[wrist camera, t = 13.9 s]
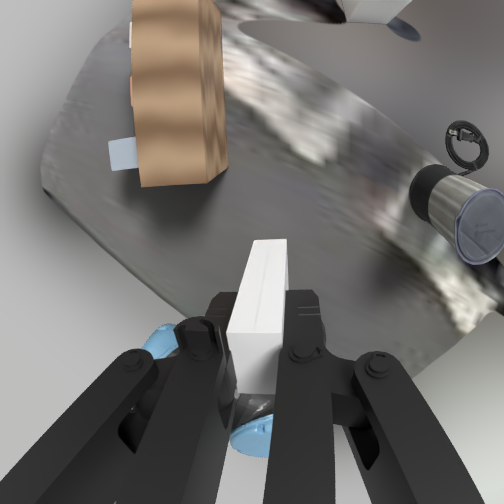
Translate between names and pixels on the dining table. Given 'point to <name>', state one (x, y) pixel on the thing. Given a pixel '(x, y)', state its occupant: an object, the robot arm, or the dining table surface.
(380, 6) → the milk
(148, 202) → the dining table surface
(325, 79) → the dining table surface
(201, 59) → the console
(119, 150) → the slate button
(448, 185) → the milk frother
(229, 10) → the dining table surface
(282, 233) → the dining table surface
